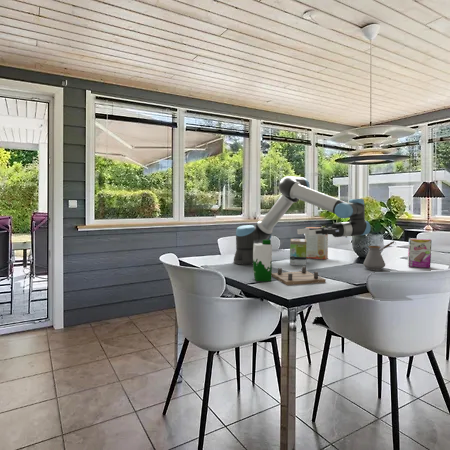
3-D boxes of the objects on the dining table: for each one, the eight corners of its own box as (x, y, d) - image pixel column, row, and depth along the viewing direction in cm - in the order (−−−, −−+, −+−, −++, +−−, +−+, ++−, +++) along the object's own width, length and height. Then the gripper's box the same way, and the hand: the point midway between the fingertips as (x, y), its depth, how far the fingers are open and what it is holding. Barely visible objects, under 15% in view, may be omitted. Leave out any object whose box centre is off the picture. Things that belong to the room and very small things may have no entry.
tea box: (306, 265, 213) (306, 241, 212) (289, 265, 215) (289, 241, 214) (306, 261, 228) (306, 238, 227) (290, 261, 230) (290, 238, 229)
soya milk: (273, 281, 173) (273, 240, 171) (254, 282, 172) (254, 241, 171) (269, 277, 182) (269, 238, 180) (252, 278, 181) (251, 239, 179)
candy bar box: (408, 267, 204) (409, 239, 203) (407, 265, 209) (408, 238, 208) (431, 268, 201) (431, 239, 200) (429, 266, 206) (429, 238, 204)
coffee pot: (374, 271, 193) (374, 244, 192) (358, 268, 204) (359, 242, 203) (402, 268, 202) (403, 242, 201) (386, 265, 212) (387, 240, 211)
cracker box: (328, 258, 237) (328, 227, 236) (325, 259, 232) (325, 228, 231) (307, 257, 245) (307, 226, 243) (304, 258, 240) (304, 227, 238)
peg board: (271, 276, 185) (271, 267, 185) (306, 273, 190) (307, 265, 189) (286, 285, 166) (286, 275, 165) (325, 282, 170) (325, 273, 170)
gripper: (354, 238, 173) (314, 241, 169) (329, 235, 198) (293, 238, 194) (354, 222, 173) (313, 225, 169) (328, 222, 198) (293, 224, 193)
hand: (303, 232), depth 181 cm, fingers open, 13 cm apart
